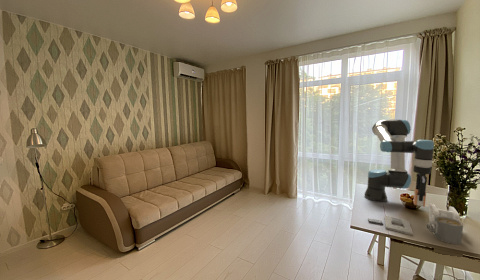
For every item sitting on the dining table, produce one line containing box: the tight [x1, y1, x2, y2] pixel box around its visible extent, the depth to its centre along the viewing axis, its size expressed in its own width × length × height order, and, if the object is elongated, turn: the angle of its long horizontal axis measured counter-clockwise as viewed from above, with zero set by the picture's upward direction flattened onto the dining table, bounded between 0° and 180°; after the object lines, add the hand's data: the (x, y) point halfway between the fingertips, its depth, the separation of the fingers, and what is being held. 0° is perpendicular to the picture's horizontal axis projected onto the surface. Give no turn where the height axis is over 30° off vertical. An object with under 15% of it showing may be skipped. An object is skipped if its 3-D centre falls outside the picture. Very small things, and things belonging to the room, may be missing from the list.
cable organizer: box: [428, 202, 461, 229], centre depth 113 cm, size 15×11×12 cm
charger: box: [413, 188, 427, 207], centre depth 114 cm, size 4×4×9 cm
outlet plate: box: [384, 215, 414, 236], centre depth 115 cm, size 16×12×1 cm
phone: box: [367, 218, 384, 226], centre depth 119 cm, size 4×7×1 cm, turn 64°
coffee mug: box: [426, 216, 464, 245], centre depth 103 cm, size 13×10×10 cm
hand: (419, 203), depth 114 cm, fingers closed on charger, 4 cm apart
